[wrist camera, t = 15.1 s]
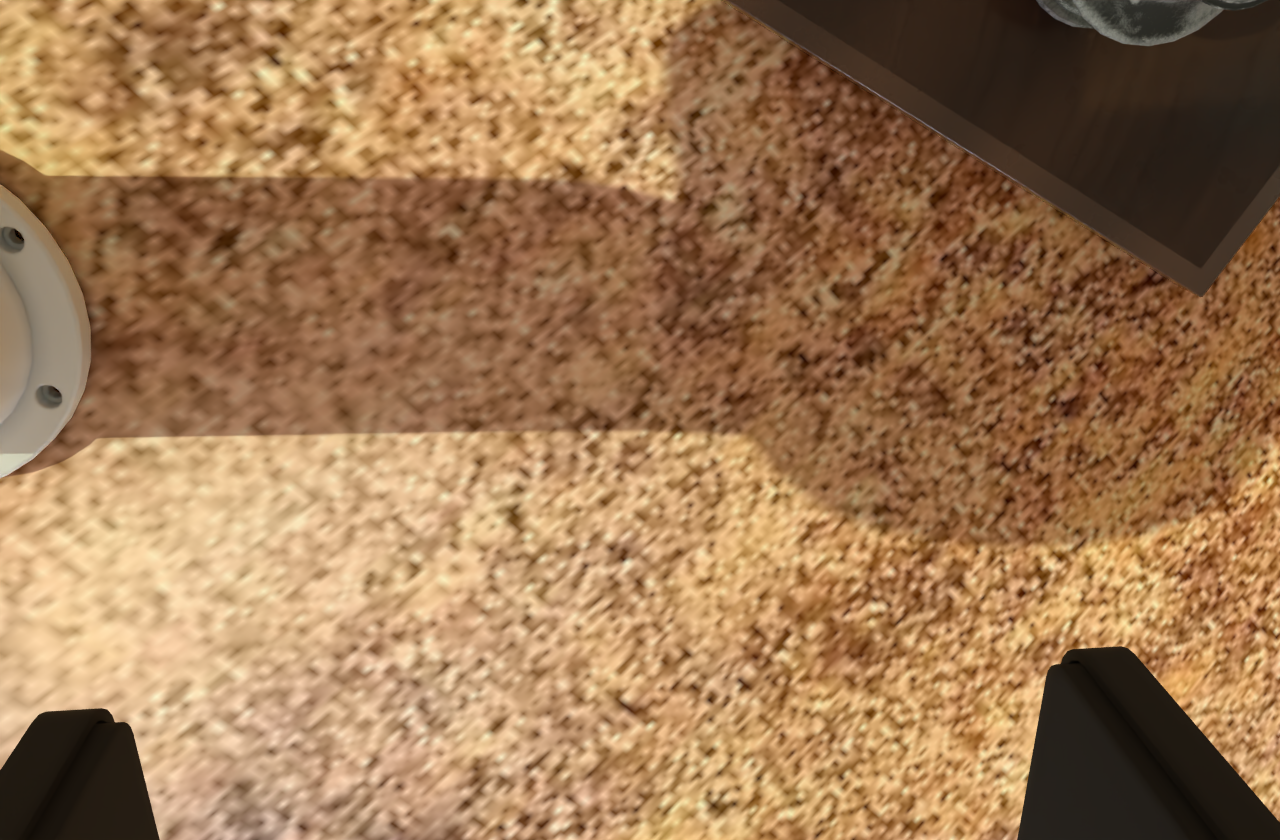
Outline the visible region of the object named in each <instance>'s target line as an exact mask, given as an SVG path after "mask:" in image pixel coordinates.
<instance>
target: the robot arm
mask: <svg viewBox="0 0 1280 840" xmlns="http://www.w3.org/2000/svg"><path fill="white" fill-rule="evenodd" d="M15 229H16V230H17V231H19V232H20V233H21V235H22V237H23V238H24V241H22V240H20V239H19V238H17V236H16V234H15ZM90 363H91V327H90V323H89V318H88V314H87V309H86V305H85V301H84V296H83V293H82V291H81V288H80V286H79V284H78V282H77V279H76V277H75V275H74V272H73V270H72V268H71V266H70V263H69V261H68V259H67V258H66V256H65V255H64V253H63V252H62V250H61V249H60V247H59V246H58V244H57V243H56V241H55V240H54V238H53V237H52V235H51V234H50V232H49V231H48V229H47V228H46V227H45V226H44V225H43V224H42V223H41V222H40V221H39V219H38V218H37V217H36V216H35V215H34V214H33V213H32V212H31V211H30V210H29V209H28V208H27V206H26V205H25V204H24V203H23V202H22V201H21V200H20V199H19V198H18V197H16V196H15V195H14V194H13V193H11V192H10V191H9V190H8V189H6V188H5V187H4V186H2V185H1V184H0V478H2V477H4V476H7V475H8V474H10V473H12V472H13V471H15V470H16V469H18V468H20V467H21V466H23V465H24V464H26V463H28V462H29V461H31V460H32V459H34V458H35V457H36V456H37V455H38V454H39V453H40V452H41V451H42V450H43V449H44V448H45V447H47V446H48V445H49V444H50V443H51V442H52V441H53V440H54V439H55V438H56V436H57V435H58V434H59V433H60V431H61V430H62V429H63V428H64V426H65V425H66V424H67V423H68V421H69V420H70V419H71V418H72V416H73V414H74V412H75V410H76V408H77V405H78V403H79V401H80V399H81V397H82V395H83V393H84V391H85V387H86V382H87V377H88V373H89V368H90ZM53 387H55V388H56V389H58V390H59V391H60V393H58V392H56V391H55V390H54V388H53ZM0 840H159V836H158V832H157V828H156V824H155V820H154V816H153V812H152V808H151V803H150V799H149V795H148V791H147V787H146V783H145V779H144V775H143V771H142V767H141V763H140V759H139V755H138V751H137V747H136V743H135V739H134V735H133V732H132V729H131V727H130V726H129V725H128V723H125V722H118V723H115V722H114V719H113V716H112V715H111V714H110V712H109V711H108V710H106V709H102V708H100V709H83V710H67V711H50V712H44V713H42V714H39V715H38V716H37V717H36V719H35V720H34V721H33V722H32V723H31V725H30V726H29V728H28V729H27V731H26V732H25V734H24V735H23V737H22V738H21V740H20V741H19V743H18V745H17V746H16V748H15V749H14V751H13V752H12V754H11V755H10V757H9V758H8V760H7V761H6V763H5V764H4V766H3V767H2V769H1V770H0ZM1017 840H1280V822H1279V821H1278V820H1277V819H1276V818H1275V817H1274V815H1273V814H1272V813H1271V812H1270V811H1269V810H1268V808H1267V807H1266V806H1265V805H1264V804H1263V803H1262V801H1261V800H1260V799H1259V798H1258V797H1257V796H1256V795H1255V793H1254V792H1253V791H1252V790H1251V789H1250V788H1249V786H1248V785H1247V784H1246V783H1245V782H1244V781H1243V779H1242V778H1241V777H1240V776H1239V775H1238V774H1237V772H1236V771H1235V770H1234V769H1233V768H1232V767H1231V765H1230V764H1229V763H1228V762H1227V761H1226V760H1225V759H1224V757H1223V756H1222V755H1221V754H1220V753H1219V752H1218V750H1217V749H1216V748H1215V747H1214V746H1213V745H1212V743H1211V742H1210V741H1209V740H1208V739H1207V738H1206V736H1205V735H1204V734H1203V733H1202V732H1201V731H1200V729H1199V728H1198V727H1197V726H1196V725H1195V724H1194V723H1193V721H1192V720H1191V719H1190V718H1189V717H1188V716H1187V714H1186V713H1185V712H1184V711H1183V710H1182V709H1181V707H1180V706H1179V705H1178V704H1177V703H1176V702H1175V700H1174V699H1173V698H1172V697H1171V696H1170V695H1169V693H1168V692H1167V691H1166V690H1165V689H1164V688H1163V687H1162V685H1161V684H1160V683H1159V682H1158V681H1157V680H1156V678H1155V677H1154V676H1153V675H1152V674H1151V673H1150V671H1149V670H1148V669H1147V668H1146V667H1145V666H1144V664H1143V663H1142V662H1141V661H1140V660H1139V659H1138V657H1137V656H1136V655H1135V654H1134V653H1133V652H1132V651H1130V650H1129V649H1128V648H1125V647H1121V646H1120V647H1104V648H1088V649H1072V650H1070V651H1067V653H1066V654H1065V655H1064V657H1063V659H1062V662H1061V664H1056V665H1053V666H1051V667H1050V669H1049V670H1048V673H1047V676H1046V682H1045V687H1044V693H1043V699H1042V704H1041V710H1040V715H1039V721H1038V727H1037V732H1036V738H1035V744H1034V749H1033V755H1032V760H1031V766H1030V772H1029V777H1028V783H1027V789H1026V794H1025V800H1024V806H1023V811H1022V817H1021V822H1020V828H1019V834H1018V839H1017Z"/></svg>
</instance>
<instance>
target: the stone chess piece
mask: <svg viewBox="0 0 1280 840" xmlns="http://www.w3.org/2000/svg"><path fill="white" fill-rule="evenodd" d="M1036 1H1037V2H1038V4H1039V6H1041V7H1042V8H1043V9H1044V10H1045V11H1046V12H1047V13H1048V14H1050V15H1051V16H1052V17H1053V18H1054V19H1056V20H1058V21H1061V22H1063V23H1065V24H1068V25H1070V26H1072V27H1081V28H1091V29H1096V30H1097V31H1098V32H1099V33H1100V34H1102V35H1104V36H1106V37H1109V38H1111V39H1113V40H1115V41H1118V42H1120V43H1122V44H1131V45H1141V46H1153V45H1158V44H1163V43H1169V42H1174V41H1176V40H1178V39H1180V38H1182V37H1185V36H1187V35H1189V34H1191V33H1193V32H1195V31H1197V30H1199V29H1200V28H1202V27H1203V26H1204V25H1205V24H1207V23H1208V22H1209V21H1211V20H1212V19H1213V18H1214V17H1216V16H1217V15H1218V14H1219V13H1221V12H1222V11H1223V10H1231V11H1236V10H1242V9H1248V8H1253V7H1255V6H1257V5H1259V4H1261V3H1263V2H1265V1H1268V0H1036Z"/></svg>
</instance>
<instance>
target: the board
mask: <svg viewBox="0 0 1280 840" xmlns="http://www.w3.org/2000/svg"><path fill="white" fill-rule="evenodd" d="M722 1H723V2H725V3H726V4H728V5H730V6H731V7H733V8H734V9H736V10H738V11H739V12H741V13H742V14H744V15H746V16H747V17H749V18H750V19H752V20H754V21H755V22H757V23H758V24H760V25H762V26H763V27H765V28H766V29H768V30H770V31H771V32H773V33H774V34H776V35H778V36H779V37H781V38H782V39H784V40H786V41H787V42H789V43H790V44H792V45H794V46H795V47H797V48H798V49H800V50H802V51H803V52H805V53H806V54H808V55H810V56H811V57H813V58H814V59H816V60H818V61H819V62H821V63H822V64H824V65H826V66H827V67H829V68H830V69H832V70H834V71H835V72H837V73H838V74H840V75H842V76H843V77H845V78H846V79H848V80H850V81H851V82H853V83H855V84H856V85H858V86H859V87H861V88H863V89H864V90H866V91H867V92H869V93H871V94H872V95H874V96H875V97H877V98H879V99H880V100H882V101H883V102H885V103H887V104H888V105H890V106H891V107H893V108H895V109H896V110H898V111H899V112H901V113H903V114H904V115H906V116H907V117H909V118H911V119H912V120H914V121H915V122H917V123H919V124H920V125H922V126H923V127H925V128H927V129H928V130H930V131H931V132H933V133H935V134H936V135H938V136H939V137H941V138H943V139H944V140H946V141H947V142H949V143H951V144H952V145H954V146H955V147H957V148H959V149H960V150H962V151H963V152H965V153H967V154H968V155H970V156H971V157H973V158H975V159H976V160H978V161H979V162H981V163H983V164H984V165H986V166H987V167H989V168H991V169H992V170H994V171H995V172H997V173H999V174H1000V175H1002V176H1003V177H1005V178H1007V179H1008V180H1010V181H1011V182H1013V183H1015V184H1016V185H1018V186H1019V187H1021V188H1023V189H1024V190H1026V191H1027V192H1029V193H1031V194H1032V195H1034V196H1035V197H1037V198H1039V199H1040V200H1042V201H1043V202H1045V203H1047V204H1048V205H1050V206H1051V207H1053V208H1055V209H1056V210H1058V211H1059V212H1061V213H1063V214H1064V215H1066V216H1067V217H1069V218H1071V219H1072V220H1074V221H1075V222H1077V223H1079V224H1080V225H1082V226H1083V227H1085V228H1087V229H1088V230H1090V231H1091V232H1093V233H1095V234H1096V235H1098V236H1099V237H1101V238H1103V239H1104V240H1106V241H1107V242H1109V243H1111V244H1112V245H1114V246H1115V247H1117V248H1119V249H1120V250H1122V251H1123V252H1125V253H1127V254H1128V255H1130V256H1131V257H1133V258H1135V259H1136V260H1138V261H1139V262H1141V263H1143V264H1144V265H1146V266H1147V267H1149V268H1151V269H1152V270H1154V271H1155V272H1157V273H1159V274H1160V275H1162V276H1163V277H1165V278H1167V279H1168V280H1170V281H1171V282H1173V283H1175V284H1176V285H1178V286H1180V287H1182V288H1183V289H1185V290H1187V291H1189V292H1191V293H1193V294H1195V295H1197V296H1199V297H1203V295H1204V294H1205V293H1206V292H1207V290H1208V289H1209V288H1210V286H1211V285H1212V284H1213V282H1214V281H1215V280H1216V279H1217V277H1218V276H1219V275H1220V273H1221V272H1222V271H1223V269H1224V268H1225V267H1226V266H1227V264H1228V263H1229V262H1230V260H1231V259H1232V258H1233V256H1234V255H1235V254H1236V253H1237V251H1238V250H1239V249H1240V247H1241V246H1242V245H1243V243H1244V242H1245V241H1246V240H1247V238H1248V237H1249V236H1250V234H1251V233H1252V232H1253V230H1254V229H1255V228H1256V227H1257V225H1258V224H1259V223H1260V221H1261V220H1262V219H1263V217H1264V216H1265V215H1266V214H1267V212H1268V211H1269V210H1270V208H1271V207H1272V206H1273V204H1274V203H1275V202H1276V201H1277V199H1278V198H1279V197H1280V0H1268V1H1265V2H1263V3H1261V4H1259V5H1257V6H1255V7H1253V8H1248V9H1242V10H1236V11H1231V10H1223V11H1222V12H1221V13H1219V14H1218V15H1217V16H1216V17H1214V18H1213V19H1212V20H1211V21H1209V22H1208V23H1207V24H1205V25H1204V26H1203V27H1202V28H1200V29H1199V30H1197V31H1195V32H1193V33H1191V34H1189V35H1187V36H1185V37H1182V38H1180V39H1178V40H1176V41H1174V42H1169V43H1163V44H1158V45H1153V46H1141V45H1131V44H1122V43H1120V42H1118V41H1115V40H1113V39H1111V38H1109V37H1106V36H1104V35H1102V34H1100V33H1099V32H1098V31H1097V30H1096V29H1091V28H1081V27H1072V26H1070V25H1068V24H1065V23H1063V22H1061V21H1058V20H1056V19H1054V18H1053V17H1052V16H1051V15H1050V14H1048V13H1047V12H1046V11H1045V10H1044V9H1043V8H1042V7H1041V6H1039V4H1038V2H1037V1H1036V0H722Z"/></svg>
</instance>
